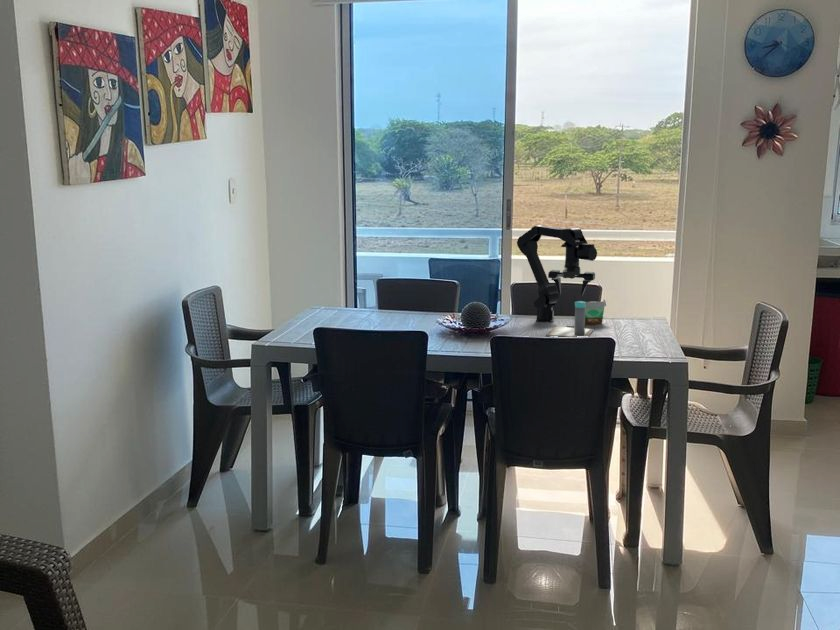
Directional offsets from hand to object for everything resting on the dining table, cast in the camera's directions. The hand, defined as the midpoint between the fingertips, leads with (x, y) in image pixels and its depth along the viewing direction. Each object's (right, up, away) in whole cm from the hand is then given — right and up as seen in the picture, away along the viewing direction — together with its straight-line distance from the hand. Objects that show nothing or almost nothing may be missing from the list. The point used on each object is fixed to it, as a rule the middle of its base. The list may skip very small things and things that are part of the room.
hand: (570, 295), depth 341 cm
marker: (0, -16, -18) cm, 24 cm away
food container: (+11, -12, +6) cm, 18 cm away
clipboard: (-3, -16, -12) cm, 20 cm away
